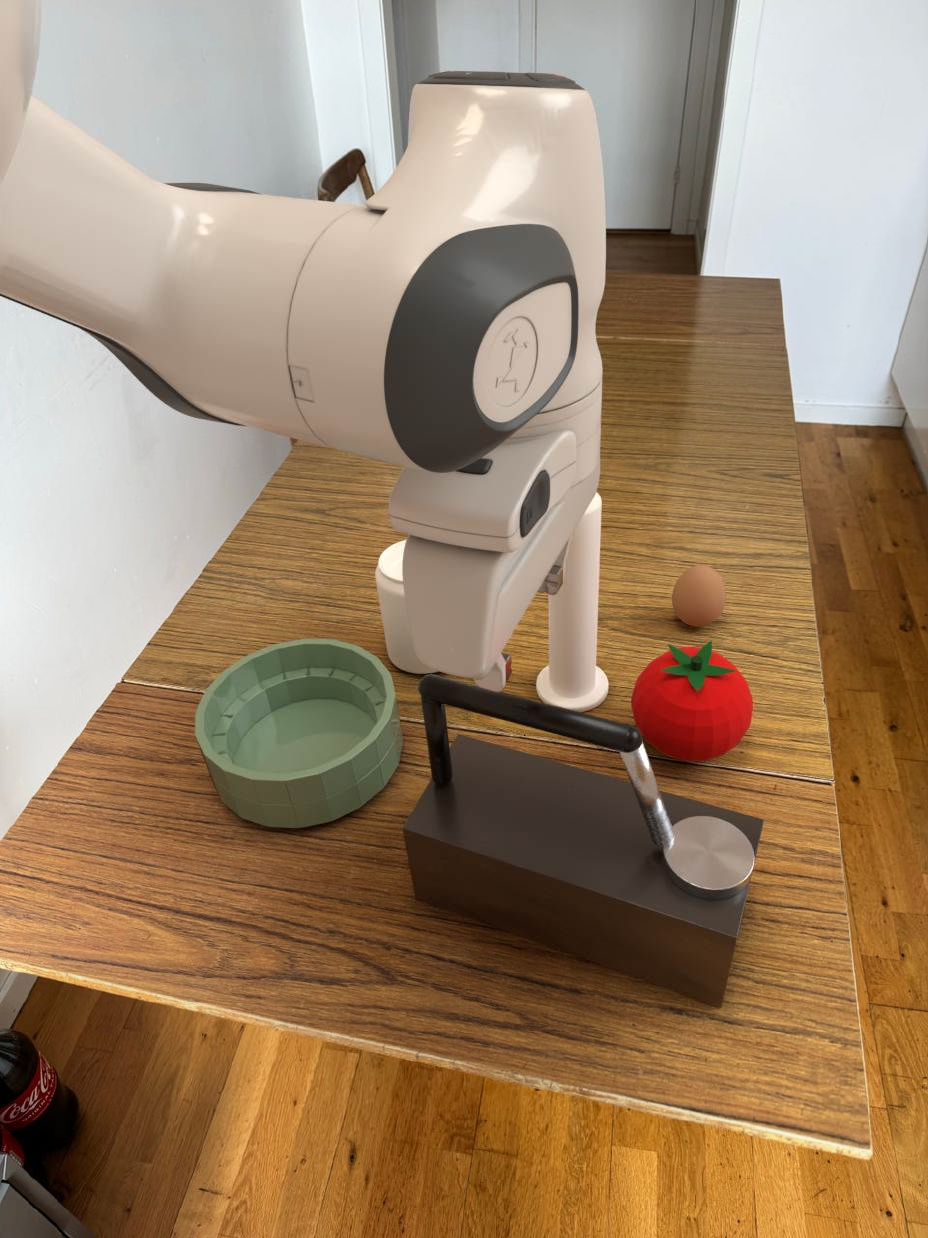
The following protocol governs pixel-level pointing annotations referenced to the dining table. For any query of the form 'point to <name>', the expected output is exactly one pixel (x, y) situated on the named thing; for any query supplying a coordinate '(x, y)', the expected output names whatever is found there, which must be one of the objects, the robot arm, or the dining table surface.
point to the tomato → (692, 703)
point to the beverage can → (396, 611)
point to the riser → (571, 867)
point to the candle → (576, 624)
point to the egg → (699, 596)
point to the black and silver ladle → (694, 847)
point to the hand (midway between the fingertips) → (522, 631)
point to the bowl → (300, 732)
